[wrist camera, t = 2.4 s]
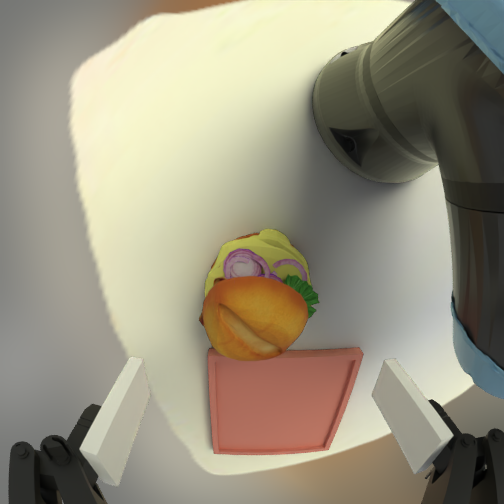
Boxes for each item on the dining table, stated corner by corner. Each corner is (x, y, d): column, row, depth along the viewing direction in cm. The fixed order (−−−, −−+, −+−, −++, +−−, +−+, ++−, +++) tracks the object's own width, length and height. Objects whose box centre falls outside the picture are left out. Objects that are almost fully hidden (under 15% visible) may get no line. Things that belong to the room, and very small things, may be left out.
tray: (209, 348, 30) (207, 355, 28) (359, 347, 30) (363, 353, 29) (214, 446, 34) (213, 453, 33) (326, 443, 35) (328, 449, 33)
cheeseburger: (325, 242, 27) (351, 303, 18) (284, 319, 32) (290, 388, 23) (227, 209, 26) (209, 261, 17) (201, 295, 30) (181, 362, 22)
